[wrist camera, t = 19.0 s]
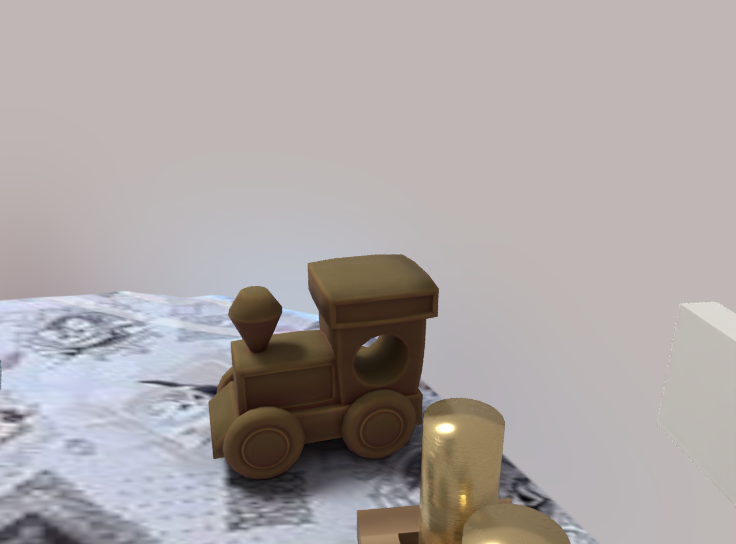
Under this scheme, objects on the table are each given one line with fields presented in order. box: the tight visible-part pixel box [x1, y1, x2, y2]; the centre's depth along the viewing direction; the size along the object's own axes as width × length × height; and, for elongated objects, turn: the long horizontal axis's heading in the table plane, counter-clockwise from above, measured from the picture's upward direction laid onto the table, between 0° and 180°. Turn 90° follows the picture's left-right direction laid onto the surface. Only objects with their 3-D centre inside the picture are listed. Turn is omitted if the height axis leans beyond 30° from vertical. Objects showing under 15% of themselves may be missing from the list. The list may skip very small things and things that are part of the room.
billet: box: [418, 398, 505, 544], centre depth 41 cm, size 5×5×14 cm
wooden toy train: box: [208, 255, 439, 479], centre depth 58 cm, size 20×11×17 cm, turn 106°
